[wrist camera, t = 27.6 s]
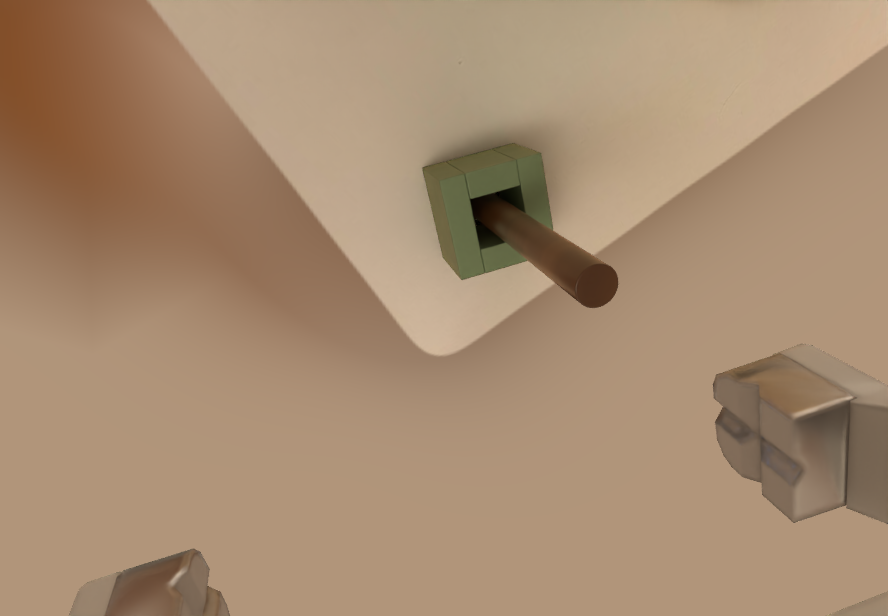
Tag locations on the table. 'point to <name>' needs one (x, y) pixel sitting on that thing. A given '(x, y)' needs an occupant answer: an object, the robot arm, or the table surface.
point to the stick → (548, 251)
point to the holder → (478, 176)
